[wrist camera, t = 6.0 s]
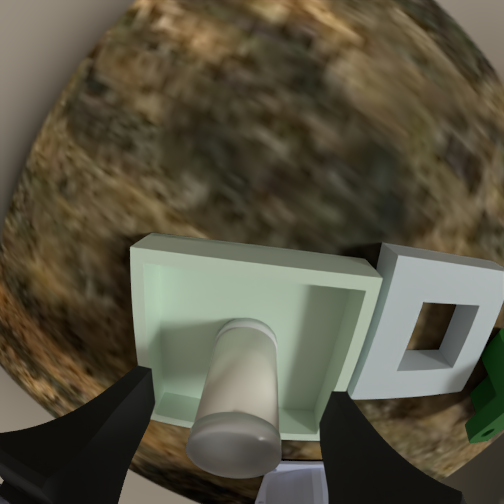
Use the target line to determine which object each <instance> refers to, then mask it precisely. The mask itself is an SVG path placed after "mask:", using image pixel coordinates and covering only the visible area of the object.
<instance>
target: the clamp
mask: <svg viewBox="0 0 504 504" xmlns="http://www.w3.org/2000/svg"><path fill="white" fill-rule="evenodd" d="M481 357H482V361H483V363H484V366H485V368H486V370H487V373H488V376H487V377H486V378H485V379H484V380H483V381H482V382H481V383H480V384H479V385H478V386H477V387H476V388H475V389H474V390H473V391H472V392H471V394H470V397H471V400H472V403H473V406H474V409H475V412H476V414H475V415H474V416H473V417H472V418H471V419H469V420H468V421H467V423H466V424H465V427H466V431H467V435H468V439H469V443H477V442H483V441H488V440H489V439H490V438H491V437H493V436H494V435H495V434H497V433H498V432H499V431H501V430H502V429H504V329H501V330H500V331H499V332H498V333H497V335H496V336H495V337H494V338H493V340H492V341H491V342H490V343H489V344H488V346H487V347H486V348H485V349H484V350H483V352H482V354H481Z"/></svg>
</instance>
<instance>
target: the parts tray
mask: <svg viewBox="0 0 504 504" xmlns="http://www.w3.org/2000/svg"><path fill="white" fill-rule="evenodd" d="M130 266H131V292H132V308H133V321H134V333H135V343H136V352H137V361H138V365H139V366H143V367H148V368H152V377H153V386H154V394H155V402H156V403H155V406H154V409H153V413H152V416H151V419H152V420H156V421H160V422H165V423H169V424H173V425H178V426H183V427H188V428H192V426H193V424H194V421H195V418H196V414H197V410H198V406H199V403H200V399H201V395H202V391H203V388H204V384H205V380H206V377H207V373H208V369H209V365H210V362H211V358H212V354H213V348H214V343H215V340H216V336H217V333H218V331H219V330H220V328H221V327H222V326H223V325H224V324H226V323H227V322H229V321H231V320H233V319H237V318H253V319H257V320H260V321H262V322H264V323H265V324H267V325H268V326H269V327H270V328H271V329H272V330H273V332H274V333H275V335H276V338H277V351H278V354H277V377H278V406H279V433H280V436H281V439H284V440H318V441H320V434H319V422H320V420H321V417H322V415H323V412H324V410H325V407H326V405H327V402H328V400H329V397H330V395H331V392H332V391H346V389H347V387H348V384H349V381H350V379H351V376H352V374H353V371H354V368H355V366H356V363H357V360H358V357H359V355H360V352H361V349H362V346H363V343H364V340H365V337H366V334H367V331H368V328H369V325H370V322H371V318H372V315H373V312H374V309H375V305H376V302H377V298H378V295H379V291H380V287H381V284H382V280H383V278H382V277H381V275H380V274H379V273H378V272H377V271H376V270H375V269H374V268H373V267H372V266H371V265H370V264H369V262H368V261H367V260H366V259H362V258H355V257H347V256H339V255H331V254H324V253H316V252H308V251H300V250H292V249H284V248H276V247H268V246H260V245H252V244H244V243H236V242H228V241H219V240H211V239H203V238H194V237H186V236H178V235H169V234H161V233H151V234H149V235H147V236H146V237H144V238H143V239H141V240H140V241H138V242H137V243H135V244H134V245H132V246H131V247H130Z"/></svg>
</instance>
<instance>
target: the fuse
mask: <svg viewBox="0 0 504 504" xmlns="http://www.w3.org/2000/svg"><path fill="white" fill-rule="evenodd" d="M277 354H278V351H277V338H276V335H275V333H274V332H273V330H272V329H271V328H270V327H269V326H268V325H267V324H265V323H264V322H262V321H260V320H257V319H253V318H237V319H233V320H231V321H229V322H227V323H226V324H224V325H223V326H222V327H221V328H220V330H219V331H218V333H217V336H216V340H215V343H214V348H213V354H212V358H211V362H210V365H209V369H208V373H207V377H206V380H205V384H204V388H203V391H202V395H201V399H200V403H199V406H198V410H197V414H196V418H195V421H194V424H193V426H192V428H191V431H190V434H189V438H188V442H187V446H186V453H187V455H188V457H189V459H190V460H191V461H192V462H193V463H194V464H195V465H196V466H198V467H199V468H201V469H203V470H205V471H207V472H209V473H212V474H215V475H218V476H222V477H228V478H253V477H258V476H262V475H265V474H267V473H269V472H271V471H273V470H274V469H275V468H277V466H278V465H279V464H280V462H281V436H280V433H279V406H278V377H277Z"/></svg>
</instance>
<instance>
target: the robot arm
mask: <svg viewBox="0 0 504 504" xmlns="http://www.w3.org/2000/svg"><path fill="white" fill-rule="evenodd" d="M155 403H156V402H155V394H154V386H153V377H152V368H148V367H143V366H139V365H137V366H136V367H135V368H133V369H132V370H131V371H130V372H128V373H127V374H126V375H125V376H123V377H122V378H121V379H120V380H118V381H117V382H116V383H115V384H113V385H112V386H111V387H109V388H108V389H107V390H105V391H104V392H103V393H101V394H100V395H98V396H97V397H95V398H94V399H92V400H91V401H89V402H88V403H86V404H84V405H83V406H81V407H79V408H78V409H76V410H74V411H72V412H70V413H68V414H66V415H64V416H62V417H59V418H57V419H54V420H52V421H50V422H47V423H44V424H41V425H38V426H34V427H31V428H27V429H23V430H18V431H11V432H4V433H0V476H1V478H2V479H3V480H4V481H3V483H2V484H0V504H118V501H119V498H120V494H121V490H122V487H123V483H124V480H125V477H126V474H127V471H128V468H129V465H130V463H131V460H132V458H133V456H134V454H135V452H136V450H137V448H138V446H139V443H140V441H141V439H142V437H143V435H144V433H145V431H146V429H147V426H148V424H149V422H150V419H151V416H152V413H153V409H154V406H155ZM319 434H320V447H321V453H322V459H323V461H281V462H280V464H279V465H278V466H277V468H275V469H274V470H273V471H271V472H269V473H267V474H265V475H264V477H263V480H262V483H261V486H260V489H259V492H258V495H257V498H256V501H255V504H466V502H465V499H464V497H463V494H462V492H461V491H458V490H456V489H454V488H451V487H449V486H446V485H444V484H442V483H440V482H438V481H437V480H435V479H433V478H431V477H429V476H428V475H426V474H425V473H423V472H422V471H420V470H419V469H417V468H416V467H414V466H413V465H412V464H410V463H409V462H408V461H407V460H405V459H404V458H403V457H402V456H401V455H399V454H398V453H397V452H396V451H395V450H394V449H393V448H392V447H391V446H390V445H389V444H388V443H387V442H386V441H385V440H384V439H383V438H382V437H381V436H380V435H379V433H378V432H377V431H376V430H375V429H374V427H373V426H372V425H371V424H370V423H369V421H368V420H367V419H366V418H365V416H364V415H363V414H362V412H361V411H360V410H359V408H358V407H357V406H356V404H355V403H354V401H353V400H352V399H351V397H350V396H349V395H348V393H347V392H346V391H332V392H331V395H330V397H329V400H328V402H327V405H326V407H325V410H324V412H323V415H322V417H321V420H320V422H319Z"/></svg>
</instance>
